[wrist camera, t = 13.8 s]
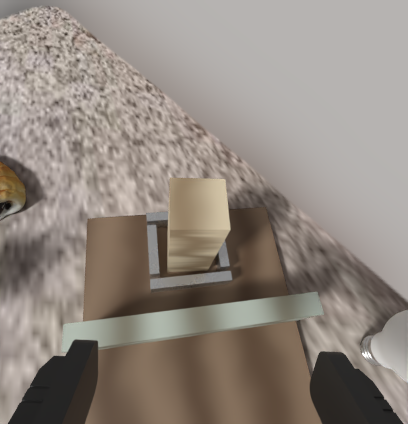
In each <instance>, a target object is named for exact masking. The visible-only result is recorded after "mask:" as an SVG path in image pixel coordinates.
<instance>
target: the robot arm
mask: <svg viewBox="0 0 408 424" xmlns="http://www.w3.org/2000/svg"><path fill="white" fill-rule="evenodd" d="M97 380H98V341H97V340H78V339H75V340H74V341H73V342H72V344H71V346H70V348H69V350H68V352H67V354H66V356H53V357H52V358H51V359H50V360H49V361H48V362H47V363H46V364H45V365H44V366H42V367H41V368H40V369H39V371H38V373H37V374H36V376H35V378H34V380H33V381H32V383H31V385H30V388H29V389H28V390H27V392H26V393H25V395H24V397H23V399H22V402H21V403H20V404H19V405H18V407H17V409H16V411H15V412H14V414H13V416H12V418H11V419H10V421H9V423H8V424H85V422H86V419H87V416H88V413H89V410H90V407H91V403H92V400H93V397H94V394H95V390H96V386H97ZM310 396H311V399H312V402H313V404H314V407H315V409H316V411H317V413H318V416H319V418H320V420H321V422H322V424H403V423H402V421H401V420H400V419H399V417H398V416H397V414H396V413H394V412H393V409H392V408H391V406H390V405H389V403H388V402H387V401H386V400H384V396H383V395H382V394H381V392H380V391H379V389H378V388H377V387H376V385H375V384H374V382H373V381H372V380H370V379H369V378H368V377H367V376H366V375H365V374H364V373H363V372H362V371H360V370H359V369H355V368H354V367H353V365H352V364H351V363H350V361H349V360H348V358H347V357H346V355H345V354H343V353H341V352H320V353H319V355H318V358H317V361H316V364H315V367H314V371H313V374H312V377H311V380H310Z"/></svg>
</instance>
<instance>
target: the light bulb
mask: <svg viewBox="0 0 408 424" xmlns="http://www.w3.org/2000/svg"><path fill="white" fill-rule="evenodd" d="M360 350H361V353H362V355H363V357H364V358H365V360H367V361H368V362H369V363H370V364H373V365H375V366H384V367H386V368H389V369H392V370H393V371H394V372H395V373H396V374H397V375H398V376H399V377H400V378H402V379H403V380H404V381H405V382H407V383H408V310H405V311H402V312H399V313H397V314H395V315H394V316H392V317H391V318H390V319H389V320H388V321H387V322H386V324H385V326H384V328H383V330H382V332H379V333H377V334H375V335H368V336H367V337H366V338H364V339H363V340H362V342H361V346H360Z"/></svg>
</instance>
